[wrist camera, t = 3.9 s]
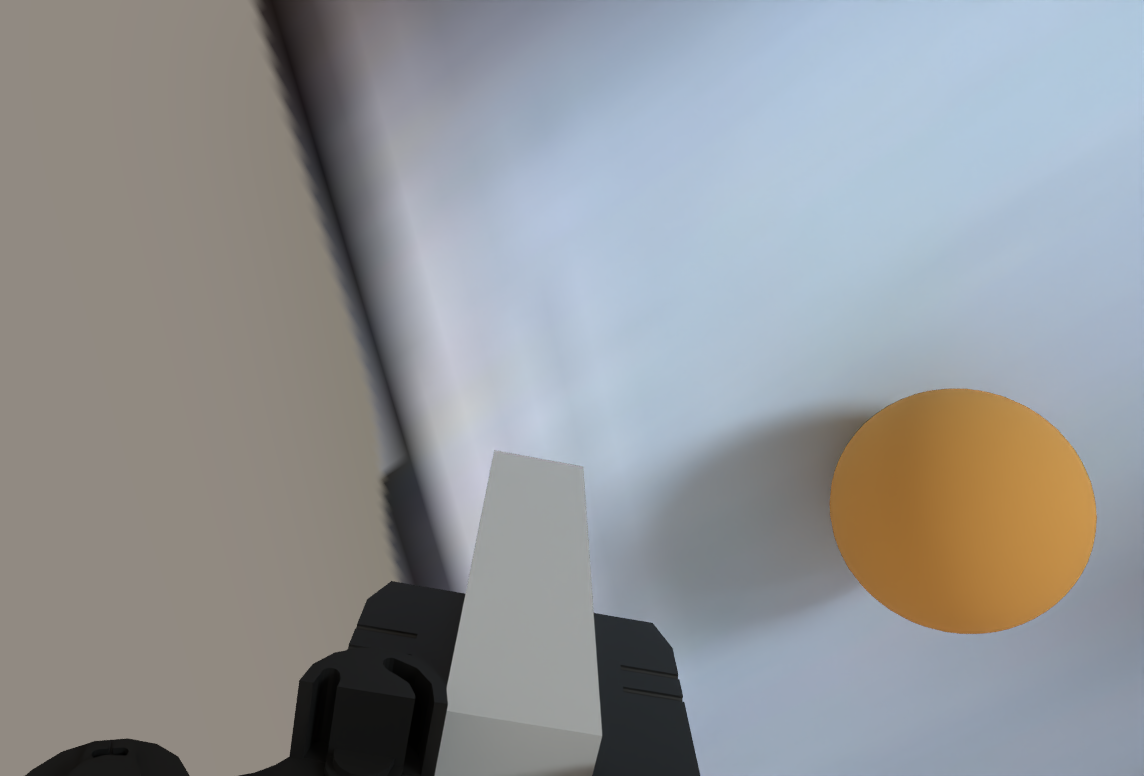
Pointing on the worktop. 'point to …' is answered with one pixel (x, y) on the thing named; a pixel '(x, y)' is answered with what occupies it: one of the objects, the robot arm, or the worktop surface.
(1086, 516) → the ball
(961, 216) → the worktop surface
